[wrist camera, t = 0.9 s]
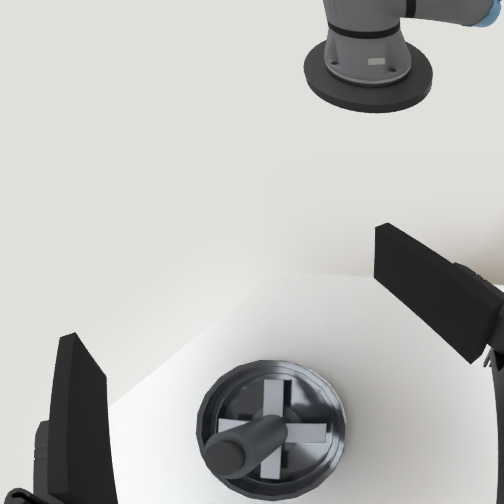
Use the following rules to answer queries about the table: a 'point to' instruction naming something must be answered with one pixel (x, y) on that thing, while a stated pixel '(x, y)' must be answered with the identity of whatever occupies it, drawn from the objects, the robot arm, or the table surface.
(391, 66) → the robot arm
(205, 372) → the table surface
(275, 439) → the blade
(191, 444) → the table surface
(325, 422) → the processor bowl
